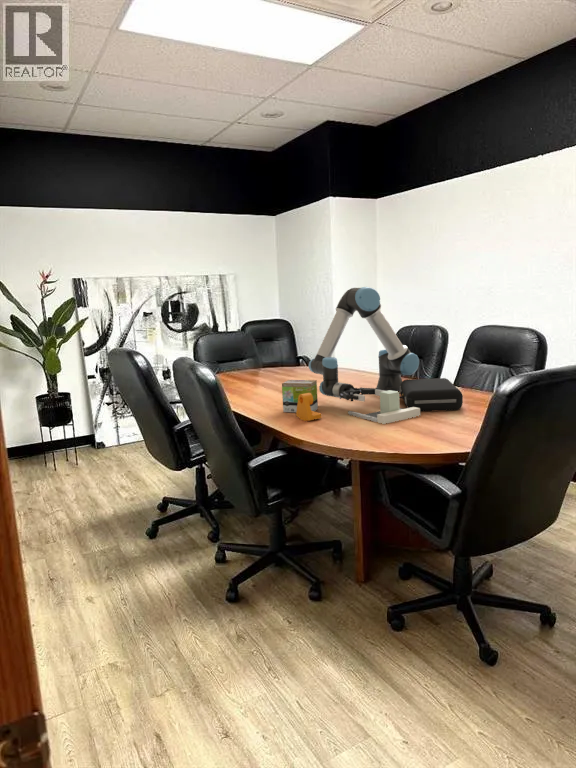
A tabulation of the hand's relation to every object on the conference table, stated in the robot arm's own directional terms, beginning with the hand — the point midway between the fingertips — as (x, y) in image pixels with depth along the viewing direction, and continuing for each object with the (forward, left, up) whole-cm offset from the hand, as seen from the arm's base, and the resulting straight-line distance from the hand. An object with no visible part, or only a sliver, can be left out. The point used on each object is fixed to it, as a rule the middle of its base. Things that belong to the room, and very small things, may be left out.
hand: (375, 396), depth 248 cm
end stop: (-1, +15, -8) cm, 17 cm away
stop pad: (-1, +6, -8) cm, 10 cm away
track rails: (-1, +3, -8) cm, 9 cm away
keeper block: (-1, +9, -8) cm, 12 cm away
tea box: (+21, -31, -9) cm, 39 cm away
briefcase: (-30, 0, -9) cm, 31 cm away
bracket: (+27, -14, -9) cm, 32 cm away
